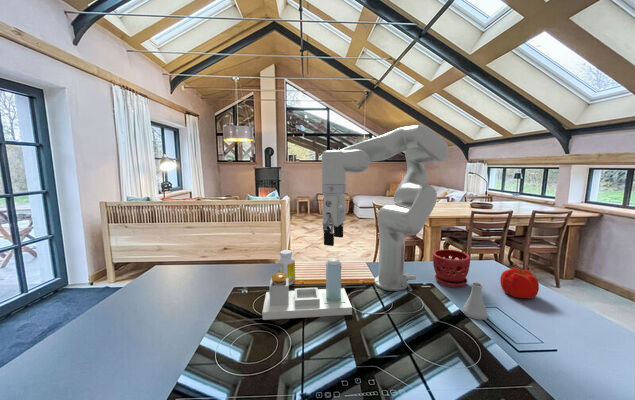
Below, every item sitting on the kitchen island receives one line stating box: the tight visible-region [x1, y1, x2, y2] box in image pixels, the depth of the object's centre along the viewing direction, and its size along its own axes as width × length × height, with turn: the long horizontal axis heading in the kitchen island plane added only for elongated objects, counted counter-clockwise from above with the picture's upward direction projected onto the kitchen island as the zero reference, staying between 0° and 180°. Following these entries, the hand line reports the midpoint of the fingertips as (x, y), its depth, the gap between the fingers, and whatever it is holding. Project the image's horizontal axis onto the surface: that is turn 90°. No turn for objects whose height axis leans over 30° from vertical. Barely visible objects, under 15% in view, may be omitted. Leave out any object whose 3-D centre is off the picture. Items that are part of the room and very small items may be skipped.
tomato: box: [499, 267, 540, 299], centre depth 97 cm, size 11×12×9 cm
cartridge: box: [325, 257, 342, 301], centre depth 90 cm, size 5×5×13 cm
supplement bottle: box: [277, 249, 296, 286], centre depth 107 cm, size 7×7×13 cm
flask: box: [461, 281, 488, 320], centre depth 84 cm, size 7×7×10 cm
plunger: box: [271, 272, 287, 285], centre depth 88 cm, size 5×5×8 cm
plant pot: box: [432, 248, 471, 288], centre depth 106 cm, size 13×13×12 cm
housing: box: [261, 278, 353, 321], centre depth 89 cm, size 28×13×9 cm, turn 95°
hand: (333, 241), depth 88 cm, fingers open, 9 cm apart
